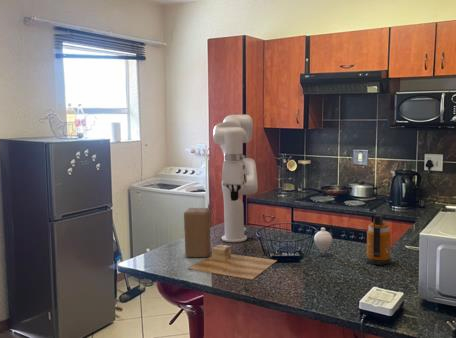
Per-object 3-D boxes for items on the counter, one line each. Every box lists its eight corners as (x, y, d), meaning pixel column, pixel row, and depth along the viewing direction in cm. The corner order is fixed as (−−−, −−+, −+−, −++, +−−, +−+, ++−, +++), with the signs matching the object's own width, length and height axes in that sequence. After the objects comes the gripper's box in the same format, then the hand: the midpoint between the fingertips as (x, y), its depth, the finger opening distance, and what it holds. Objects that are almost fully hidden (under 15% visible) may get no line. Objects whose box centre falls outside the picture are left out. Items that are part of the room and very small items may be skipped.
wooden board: (219, 252, 200) (219, 252, 200) (277, 260, 186) (277, 260, 186) (188, 269, 179) (188, 268, 178) (251, 279, 165) (251, 279, 165)
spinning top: (312, 257, 190) (312, 229, 189) (316, 251, 197) (316, 225, 196) (330, 258, 188) (330, 230, 186) (333, 253, 195) (333, 226, 193)
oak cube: (218, 255, 194) (218, 244, 194) (230, 257, 192) (230, 246, 191) (211, 259, 189) (211, 248, 189) (224, 261, 186) (224, 249, 186)
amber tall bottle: (390, 260, 184) (391, 212, 182) (387, 268, 174) (388, 218, 172) (368, 257, 188) (369, 211, 185) (364, 266, 178) (364, 216, 175)
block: (211, 251, 202) (210, 207, 200) (207, 258, 192) (206, 212, 190) (189, 250, 203) (188, 207, 201) (184, 257, 193) (183, 212, 191)
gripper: (253, 157, 190) (254, 199, 192) (222, 156, 197) (223, 197, 199) (245, 159, 183) (246, 203, 186) (213, 158, 190) (215, 200, 193)
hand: (234, 200), depth 193 cm, fingers closed
